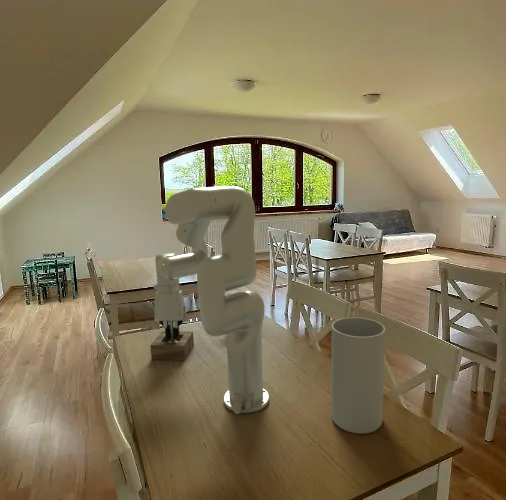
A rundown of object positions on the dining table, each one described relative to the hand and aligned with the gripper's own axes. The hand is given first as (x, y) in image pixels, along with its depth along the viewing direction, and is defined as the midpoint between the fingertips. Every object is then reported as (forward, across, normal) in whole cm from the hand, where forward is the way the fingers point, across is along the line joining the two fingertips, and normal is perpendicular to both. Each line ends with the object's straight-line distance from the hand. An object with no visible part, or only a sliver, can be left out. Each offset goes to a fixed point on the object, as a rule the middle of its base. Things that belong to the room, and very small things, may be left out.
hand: (172, 337), depth 138 cm
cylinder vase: (+7, +59, -36) cm, 69 cm away
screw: (+5, 0, 0) cm, 5 cm away
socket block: (+6, 0, 0) cm, 6 cm away
